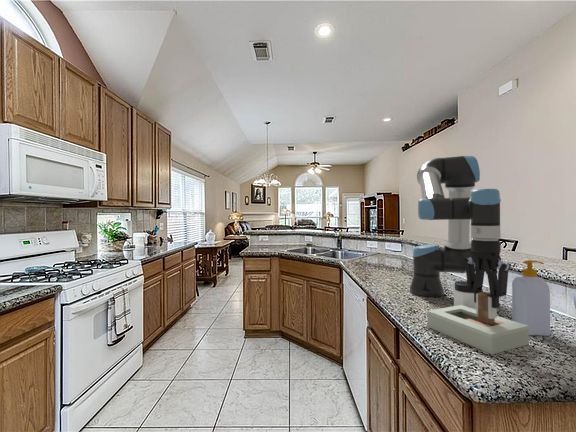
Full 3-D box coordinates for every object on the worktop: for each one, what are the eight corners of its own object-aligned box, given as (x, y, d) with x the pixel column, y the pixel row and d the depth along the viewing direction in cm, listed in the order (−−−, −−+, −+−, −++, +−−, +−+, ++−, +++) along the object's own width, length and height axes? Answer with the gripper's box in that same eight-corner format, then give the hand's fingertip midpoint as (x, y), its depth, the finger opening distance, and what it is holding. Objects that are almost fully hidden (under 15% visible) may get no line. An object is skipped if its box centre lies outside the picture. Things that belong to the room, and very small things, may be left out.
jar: (456, 317, 111) (456, 285, 110) (451, 310, 118) (451, 280, 118) (484, 319, 108) (483, 286, 108) (477, 312, 116) (477, 281, 116)
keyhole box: (427, 326, 102) (427, 310, 102) (461, 320, 108) (460, 304, 108) (491, 354, 81) (491, 334, 81) (528, 344, 87) (528, 325, 87)
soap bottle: (553, 337, 92) (552, 263, 92) (528, 335, 93) (527, 262, 93) (535, 326, 101) (534, 258, 101) (512, 325, 102) (511, 258, 102)
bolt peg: (473, 337, 92) (473, 292, 92) (484, 334, 94) (483, 290, 94) (488, 343, 88) (488, 296, 88) (499, 340, 90) (499, 294, 89)
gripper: (453, 238, 97) (454, 310, 97) (504, 242, 82) (505, 327, 82) (469, 237, 100) (470, 307, 100) (522, 240, 85) (523, 323, 85)
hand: (486, 315), depth 91 cm, fingers closed on bolt peg, 3 cm apart
